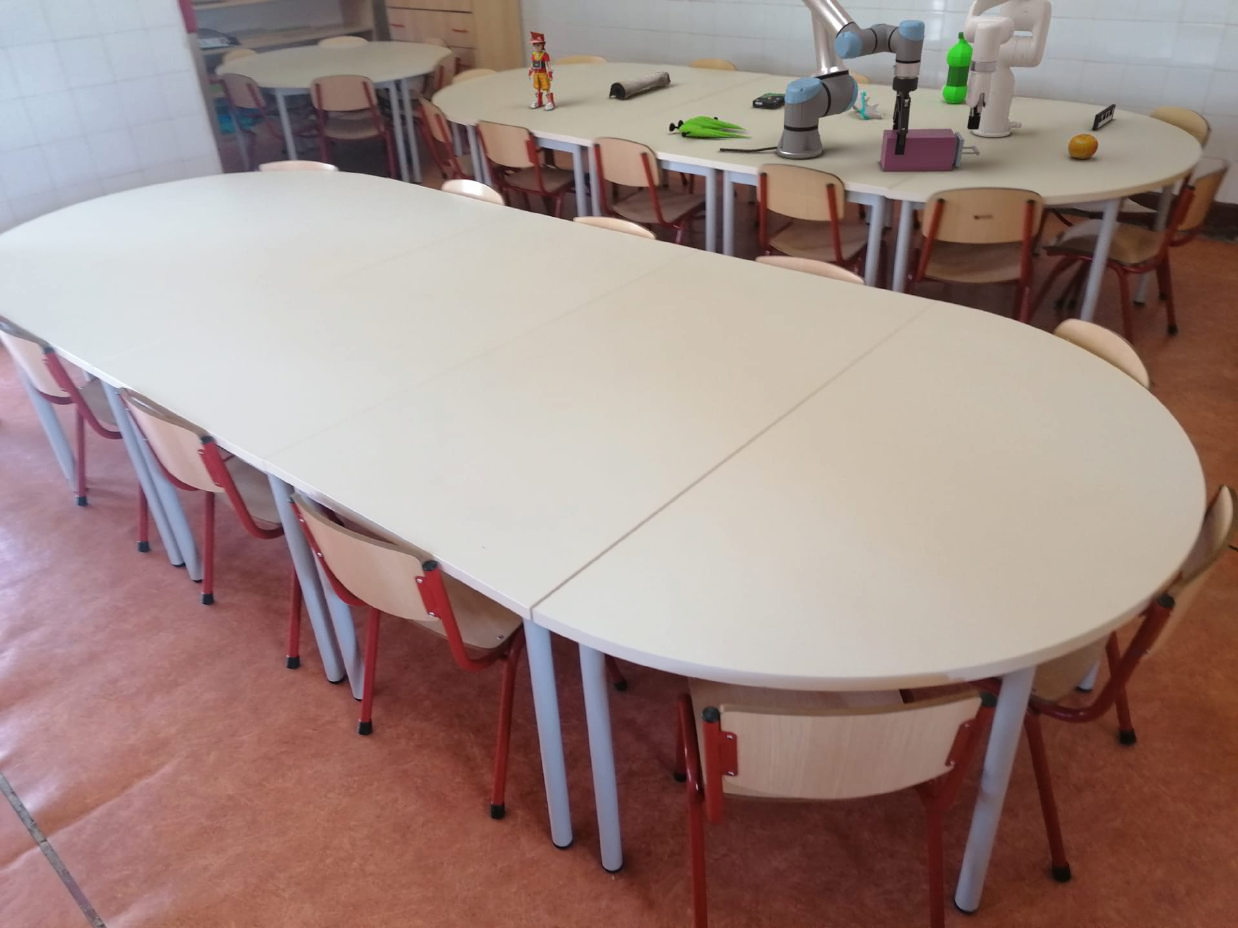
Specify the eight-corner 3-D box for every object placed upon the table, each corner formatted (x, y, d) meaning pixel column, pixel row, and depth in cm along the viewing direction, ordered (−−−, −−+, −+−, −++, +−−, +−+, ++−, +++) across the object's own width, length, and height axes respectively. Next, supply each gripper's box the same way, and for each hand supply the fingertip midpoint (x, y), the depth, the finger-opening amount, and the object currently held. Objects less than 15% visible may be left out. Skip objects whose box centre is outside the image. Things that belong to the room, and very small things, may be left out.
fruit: (1064, 149, 286) (1082, 126, 283) (1061, 151, 293) (1078, 129, 290) (1086, 163, 284) (1105, 141, 281) (1083, 166, 292) (1101, 144, 289)
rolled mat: (651, 76, 408) (662, 61, 399) (662, 93, 408) (674, 79, 400) (605, 92, 391) (616, 77, 383) (617, 110, 391) (628, 95, 383)
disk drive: (775, 110, 359) (790, 101, 369) (775, 102, 358) (790, 94, 368) (751, 108, 364) (767, 99, 374) (752, 100, 362) (767, 92, 372)
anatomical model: (844, 88, 347) (870, 81, 346) (847, 115, 353) (872, 108, 352) (856, 97, 335) (882, 90, 334) (858, 125, 341) (884, 118, 340)
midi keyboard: (1095, 130, 313) (1099, 115, 310) (1091, 129, 314) (1095, 115, 311) (1112, 119, 323) (1116, 104, 320) (1108, 118, 324) (1112, 104, 321)
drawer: (973, 158, 292) (977, 131, 287) (978, 166, 285) (983, 139, 280) (892, 159, 295) (895, 133, 291) (895, 167, 288) (899, 141, 283)
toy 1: (525, 109, 381) (517, 32, 364) (534, 104, 388) (527, 28, 371) (550, 110, 377) (543, 32, 360) (559, 105, 384) (553, 28, 367)
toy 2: (658, 135, 331) (731, 150, 319) (659, 121, 329) (733, 135, 316) (693, 123, 352) (763, 136, 339) (694, 110, 349) (765, 122, 336)
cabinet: (946, 161, 294) (951, 128, 288) (951, 170, 286) (956, 137, 280) (880, 161, 297) (883, 129, 291) (883, 171, 289) (887, 138, 283)
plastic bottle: (973, 101, 354) (984, 32, 339) (955, 106, 349) (966, 36, 335) (952, 97, 361) (962, 29, 346) (934, 102, 356) (944, 33, 342)
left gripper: (889, 69, 286) (881, 140, 299) (898, 85, 268) (889, 160, 280) (913, 68, 285) (904, 139, 298) (924, 84, 267) (914, 160, 279)
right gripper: (965, 62, 279) (956, 123, 289) (975, 72, 267) (964, 135, 277) (990, 61, 278) (980, 122, 288) (1001, 71, 266) (990, 135, 276)
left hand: (897, 149), depth 289 cm, fingers closed on cabinet, 10 cm apart
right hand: (972, 128), depth 283 cm, fingers closed
